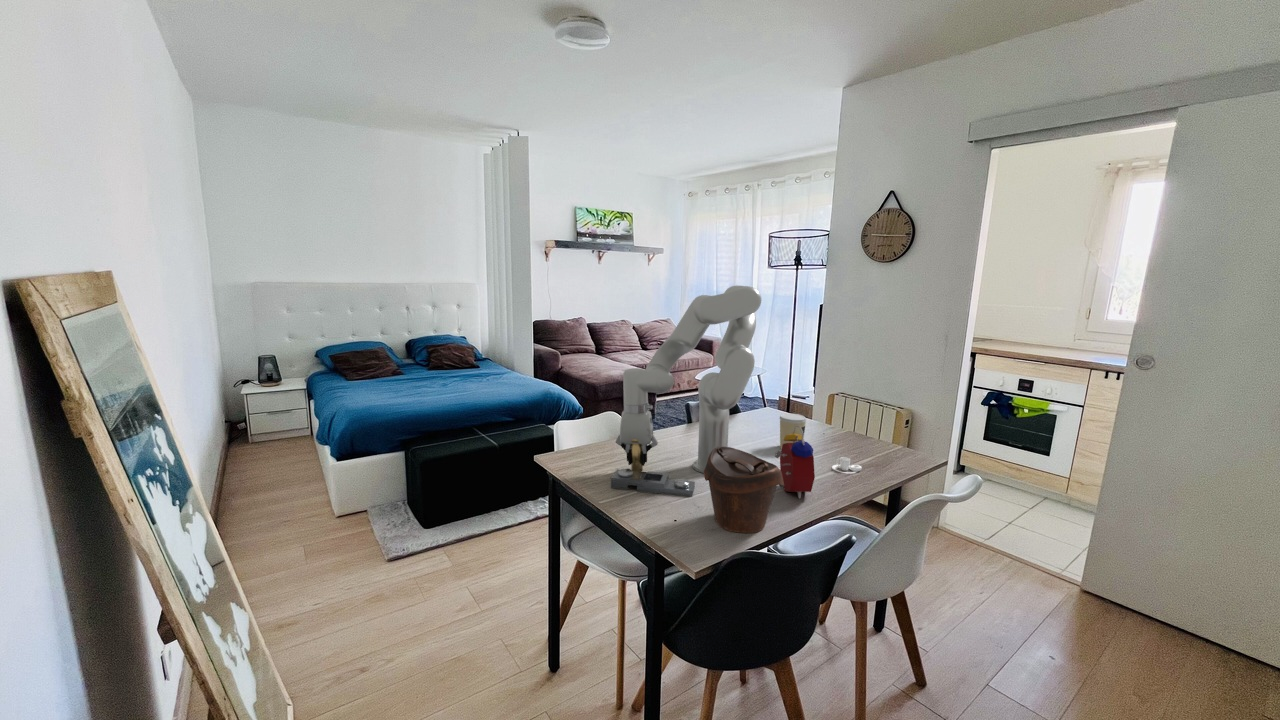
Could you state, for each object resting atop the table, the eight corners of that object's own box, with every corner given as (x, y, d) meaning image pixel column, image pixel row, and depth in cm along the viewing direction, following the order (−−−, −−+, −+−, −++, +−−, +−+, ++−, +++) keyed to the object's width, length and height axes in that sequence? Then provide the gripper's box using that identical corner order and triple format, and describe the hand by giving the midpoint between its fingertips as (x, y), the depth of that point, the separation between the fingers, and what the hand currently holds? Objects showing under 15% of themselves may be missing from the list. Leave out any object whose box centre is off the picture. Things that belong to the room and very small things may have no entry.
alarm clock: (813, 502, 143) (818, 433, 140) (782, 501, 143) (786, 433, 140) (798, 481, 157) (802, 418, 154) (770, 480, 158) (773, 418, 154)
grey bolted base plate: (694, 485, 153) (695, 472, 152) (691, 497, 145) (692, 483, 145) (617, 478, 158) (617, 465, 157) (610, 488, 150) (610, 475, 150)
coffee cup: (807, 452, 184) (809, 420, 182) (781, 452, 184) (783, 419, 182) (800, 444, 193) (802, 413, 191) (775, 443, 193) (777, 412, 191)
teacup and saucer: (863, 470, 168) (864, 459, 167) (854, 477, 162) (855, 465, 161) (837, 464, 174) (838, 452, 173) (827, 470, 168) (828, 458, 167)
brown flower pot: (785, 543, 120) (789, 471, 118) (700, 535, 124) (702, 465, 121) (778, 510, 138) (782, 446, 135) (703, 503, 141) (706, 441, 138)
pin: (646, 467, 165) (645, 435, 163) (642, 473, 160) (642, 439, 158) (631, 466, 166) (630, 434, 164) (628, 472, 161) (627, 439, 159)
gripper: (664, 406, 161) (664, 461, 164) (613, 404, 165) (614, 458, 168) (660, 412, 154) (660, 470, 157) (607, 410, 158) (608, 466, 161)
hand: (637, 463), depth 163 cm, fingers closed on pin, 3 cm apart
